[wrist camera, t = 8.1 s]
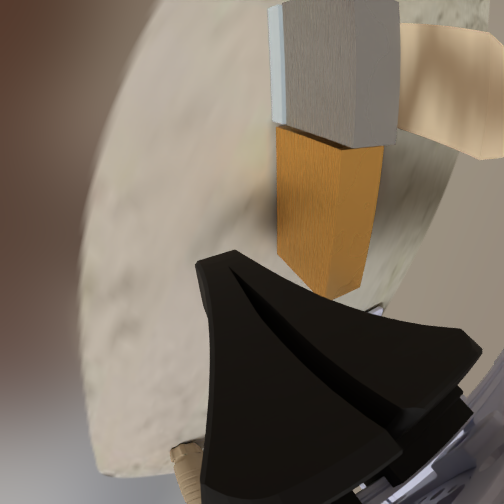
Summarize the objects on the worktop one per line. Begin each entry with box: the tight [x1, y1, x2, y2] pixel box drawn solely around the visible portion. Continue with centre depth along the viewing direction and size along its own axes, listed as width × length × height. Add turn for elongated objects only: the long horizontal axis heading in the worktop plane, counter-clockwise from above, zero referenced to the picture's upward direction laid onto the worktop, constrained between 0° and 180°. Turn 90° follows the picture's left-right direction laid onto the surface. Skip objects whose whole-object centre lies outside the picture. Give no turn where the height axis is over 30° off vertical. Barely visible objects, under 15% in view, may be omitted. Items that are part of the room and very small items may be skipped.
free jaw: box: [276, 0, 401, 300], centre depth 10 cm, size 12×2×4 cm, turn 2°
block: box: [397, 23, 504, 160], centre depth 9 cm, size 5×4×6 cm
